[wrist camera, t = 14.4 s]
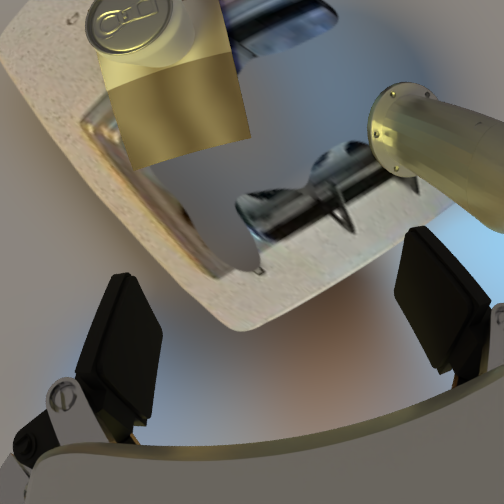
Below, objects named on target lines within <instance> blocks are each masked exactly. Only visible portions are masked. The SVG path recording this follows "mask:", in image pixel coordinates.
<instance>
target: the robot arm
mask: <svg viewBox="0 0 504 504" xmlns="http://www.w3.org/2000/svg"><path fill="white" fill-rule="evenodd" d="M367 131H368V140H369V145H370V148H371V150H372V153H373V155H374V156H375V158H376V160H377V161H378V162H379V163H380V164H381V165H382V167H384V168H385V169H386V170H388V171H389V172H391V173H393V174H394V175H397V176H401V177H414V176H419V177H420V178H422V179H423V180H425V181H426V182H428V183H429V184H431V185H432V186H434V187H435V188H436V189H438V190H439V191H441V192H442V193H443V194H445V195H446V196H448V197H449V198H450V199H452V200H453V201H454V202H456V203H457V204H458V205H460V206H461V207H462V208H463V209H465V210H466V211H467V212H469V213H470V214H471V215H472V216H474V217H475V218H476V219H478V220H479V221H480V222H481V223H482V224H484V225H485V226H486V227H488V228H489V229H491V230H493V231H495V232H498V233H502V234H504V122H502V121H499V120H496V119H494V118H491V117H488V116H486V115H483V114H480V113H477V112H474V111H471V110H468V109H465V108H462V107H459V106H456V105H452V104H449V103H445V102H441V101H439V100H438V99H437V97H436V96H435V95H434V94H433V93H432V92H431V91H430V90H429V89H427V88H425V87H424V86H422V85H419V84H416V83H411V82H400V83H396V84H393V85H391V86H389V87H387V88H386V89H385V90H384V91H382V92H381V93H380V95H379V96H378V97H377V98H376V100H375V102H374V104H373V106H372V107H371V111H370V114H369V117H368V125H367ZM374 132H375V134H374ZM394 296H395V299H396V301H397V302H398V304H399V306H400V308H401V309H402V311H403V313H404V315H405V316H406V318H407V320H408V322H409V323H410V325H411V327H412V329H413V330H414V333H415V334H416V336H417V338H418V340H419V342H420V344H421V346H422V348H423V349H424V351H425V353H426V355H427V357H428V359H429V361H430V363H431V365H432V367H433V368H437V370H438V373H439V374H440V375H441V374H443V373H445V372H448V371H450V370H452V369H453V371H454V373H455V375H454V380H453V384H452V388H451V390H448V391H446V392H444V393H442V394H439V395H437V396H435V397H432V398H430V399H428V400H425V401H423V402H420V403H418V404H415V405H412V406H409V407H407V408H404V409H401V410H398V411H395V412H392V413H389V414H386V415H384V416H380V417H377V418H374V419H370V420H367V421H363V422H360V423H356V424H353V425H349V426H345V427H341V428H337V429H333V430H328V431H324V432H319V433H315V434H309V435H304V436H299V437H292V438H286V439H279V440H273V441H265V442H256V443H246V444H235V445H218V446H150V445H148V446H147V445H140V443H139V442H138V440H137V439H136V437H135V436H134V434H133V426H146V425H147V419H149V418H150V417H151V414H152V406H153V398H154V390H155V383H156V376H157V369H158V363H159V356H160V350H161V344H162V338H163V333H162V329H161V326H160V324H159V323H158V321H157V319H156V317H155V315H154V313H153V311H152V309H151V307H150V305H149V303H148V301H147V299H146V297H145V295H144V293H143V291H142V289H141V287H140V285H139V283H138V280H137V278H136V277H135V276H131V274H129V273H121V274H114V275H113V276H112V277H111V279H110V281H109V284H108V286H107V288H106V290H105V293H104V295H103V298H102V300H101V302H100V305H99V307H98V309H97V312H96V315H95V317H94V319H93V322H92V325H91V327H90V330H89V332H88V335H87V338H86V340H85V343H84V346H83V349H82V352H81V354H80V357H79V360H78V363H77V366H76V370H75V373H76V376H75V379H74V378H70V377H64V378H61V379H59V380H57V381H56V382H55V383H54V384H52V386H51V387H50V388H49V390H48V393H47V395H46V408H47V409H46V410H45V411H44V412H42V413H41V414H39V415H38V416H37V417H36V418H34V419H33V420H32V421H31V422H29V423H28V424H27V425H26V426H24V427H23V428H22V429H20V431H19V432H18V433H17V434H16V436H15V438H14V441H13V452H14V454H12V453H10V454H9V456H8V457H7V459H6V460H5V462H4V463H3V465H2V466H1V468H0V504H504V303H499V304H496V305H495V306H494V307H493V308H492V309H491V308H490V307H489V305H490V303H491V299H490V298H489V297H488V295H487V294H486V293H485V292H484V290H483V289H482V288H481V287H480V285H479V284H478V283H477V282H476V280H475V279H474V278H473V277H472V276H471V274H469V272H468V271H467V270H466V269H465V267H464V266H463V265H462V264H461V263H460V262H459V261H458V260H457V258H456V257H455V256H454V255H453V254H452V253H451V252H450V251H449V250H448V249H447V248H446V246H445V245H444V244H443V243H442V242H441V241H440V240H439V239H438V238H437V237H436V236H435V235H434V234H433V233H432V232H431V231H430V230H429V229H428V228H427V227H426V226H418V227H412V228H410V229H409V231H408V232H407V233H406V234H405V238H404V245H403V249H402V255H401V260H400V265H399V270H398V274H397V279H396V283H395V288H394Z"/></svg>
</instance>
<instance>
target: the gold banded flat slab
mask: <svg viewBox="0 0 504 504" xmlns="http://www.w3.org/2000/svg"><path fill="white" fill-rule="evenodd" d="M182 2H183V4H184V6H185V8H186V10H187V12H188V15H189V17H190V19H191V21H192V24H193V26H194V31H195V37H194V42H193V45H192V47H191V49H190V50H189V52H188V53H187V54H186V55H185V56H184V57H183V58H182V59H181V60H179V61H178V62H176V63H174V64H172V65H169V66H165V67H157V68H156V67H147V66H140V65H133V64H126V63H120V62H115V61H111V60H109V59H107V58H105V57H103V56H102V55H100V54H99V53H98V52H97V51H96V52H97V56H98V60H99V64H100V67H101V71H102V75H103V79H104V82H105V86H106V89H107V91H108V95H109V98H110V102H111V105H112V108H113V112H114V115H115V118H116V121H117V124H118V127H119V130H120V133H121V136H122V139H123V142H124V145H125V148H126V151H127V154H128V157H129V160H130V162H131V165H132V168H133V171H135V170H138V169H141V168H144V167H147V166H150V165H153V164H156V163H159V162H162V161H166V160H169V159H172V158H175V157H178V156H182V155H185V154H189V153H192V152H196V151H200V150H204V149H207V148H211V147H215V146H219V145H223V144H227V143H231V142H235V141H240V140H244V139H249V138H251V135H250V130H249V126H248V121H247V117H246V112H245V108H244V103H243V99H242V94H241V91H240V86H239V82H238V77H237V73H236V69H235V65H234V60H233V56H232V52H231V48H230V44H229V40H228V36H227V31H226V27H225V23H224V19H223V16H222V12H221V8H220V4H219V0H182ZM88 11H89V10H88Z"/></svg>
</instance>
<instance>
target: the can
mask: <svg viewBox="0 0 504 504" xmlns="http://www.w3.org/2000/svg"><path fill="white" fill-rule="evenodd" d="M85 32H86V36H87V38H88V40H89V42H90V44H91V45H92V46H93V47H94V48H95V50H96V51H97V52H98V53H99V54H100V55H102V56H103V57H105V58H107V59H109V60H111V61H115V62H120V63H126V64H133V65H140V66H147V67H156V68H157V67H165V66H169V65H172V64H174V63H176V62H178V61H179V60H181V59H182V58H183V57H184V56H185V55H186V54H187V53H188V52H189V50H190V49H191V47H192V45H193V42H194V37H195V31H194V26H193V24H192V21H191V19H190V17H189V15H188V12H187V10H186V8H185V6H184V4H183V2H182V0H95V1H94V2H93V4H92V5H91V7H90V9H89V11H88V13H87V17H86V21H85Z"/></svg>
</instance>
